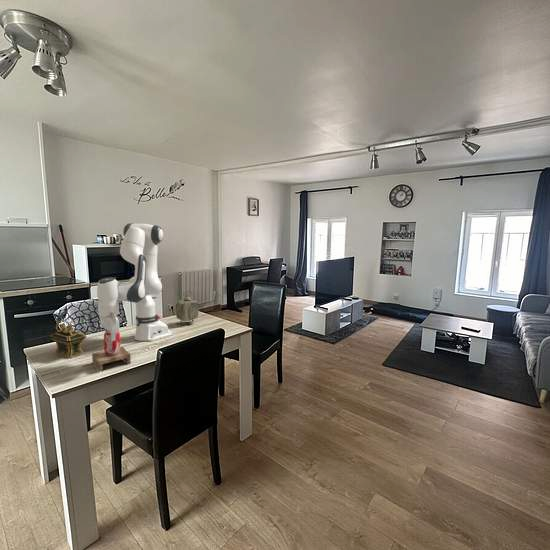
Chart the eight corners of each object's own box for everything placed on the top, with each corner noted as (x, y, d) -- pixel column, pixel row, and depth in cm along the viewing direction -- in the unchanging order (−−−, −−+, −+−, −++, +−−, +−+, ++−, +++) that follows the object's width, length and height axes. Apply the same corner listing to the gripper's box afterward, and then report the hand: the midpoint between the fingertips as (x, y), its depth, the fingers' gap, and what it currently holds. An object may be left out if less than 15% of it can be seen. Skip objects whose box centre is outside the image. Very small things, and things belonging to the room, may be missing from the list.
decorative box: (88, 353, 156) (86, 318, 153) (69, 360, 147) (67, 323, 144) (66, 346, 164) (63, 313, 161) (47, 352, 155) (44, 317, 153)
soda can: (122, 353, 144) (121, 330, 143) (106, 357, 139) (106, 333, 138) (117, 349, 149) (117, 327, 148) (102, 352, 144) (101, 330, 143)
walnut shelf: (122, 355, 154) (122, 346, 153) (130, 363, 145) (130, 354, 144) (92, 362, 144) (92, 353, 144) (99, 372, 135) (98, 361, 134)
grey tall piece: (193, 320, 220) (193, 288, 216) (199, 323, 214) (199, 290, 210) (175, 324, 209) (175, 291, 206) (182, 327, 203) (181, 293, 200)
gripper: (122, 314, 136) (123, 342, 138) (110, 306, 150) (111, 331, 152) (107, 316, 131) (109, 345, 133) (96, 307, 146) (98, 333, 148)
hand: (110, 337), depth 143 cm, fingers open, 8 cm apart
